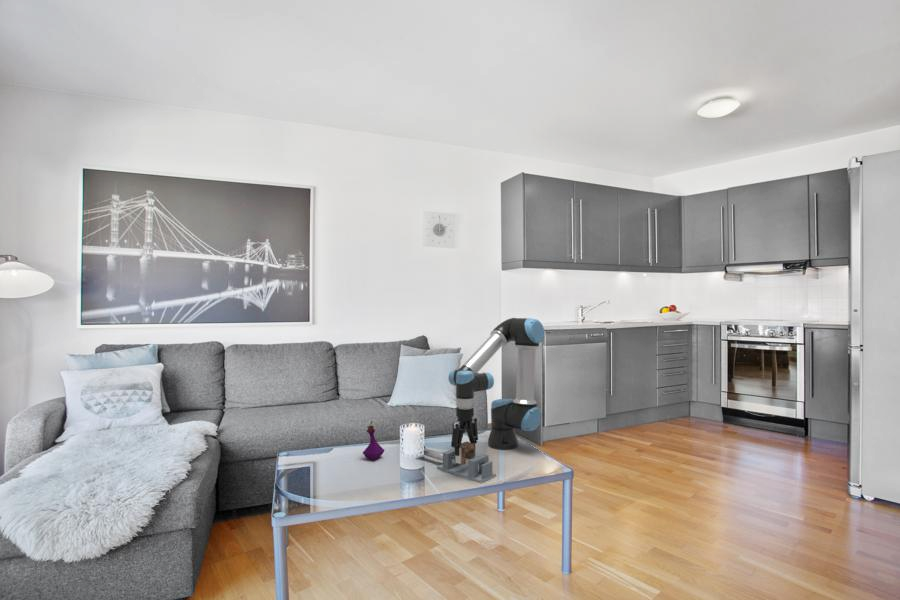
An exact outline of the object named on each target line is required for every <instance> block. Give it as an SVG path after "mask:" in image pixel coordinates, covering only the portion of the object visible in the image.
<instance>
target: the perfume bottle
mask: <svg viewBox="0 0 900 600" xmlns="http://www.w3.org/2000/svg"><path fill="white" fill-rule="evenodd" d="M373 423H374V424H376V426H378V423H379V422H378V420H377V419H372V420H371V421H370V425H368V426H367V429H366V433H368V435H369V438H370V442H369V444H368V446H366V448H365V449H364V450H363V452H362V455H363V456H364V457H365V458H366V459H367V460H370V461H376V460H378V459H380V458H381V457H382V456H383V453H384V452H385V449H384V448H383V447H382V446H381V445H380V444H379V443H378V441H377V440H376V437H375V432H376V429H375V428H374V427H375V426H374V425H372V424H373Z"/></svg>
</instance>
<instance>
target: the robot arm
mask: <svg viewBox="0 0 900 600" xmlns="http://www.w3.org/2000/svg"><path fill="white" fill-rule="evenodd" d="M489 335H490V336H488V338H487V339H486V340H485V341H484V342H483V343H482V344H481V345H480V346H479V347H478V348H477V349H476V351H474V352H473V354H472V355H470V356H469V358H468V359H467V360H466V361H465V362H464V363H463V364H462V365H461V366H460V367H459V368H457V369H453V370H451V371H450V372H449V373H448V379H447V380H448V382H449V384H450V385H452V386H454V387H455V388H456V389H455V390H456V391H455V393H456V397H455V398H456V400H455V401H456V406H455V407H456V409H455V416H456V417H457V421H456V422H453V423H452V425H451V426H452V434H451V444H450V446H451V448H453V449H454V448H455V462H456V463H459V464H461V448H460V446H461V443H463V442H462V441H463V437H464V433H465V432H466V433H467V437H468V440H469V441H468V442H470V443H474V444H475V445H476V444H477V443H478V440H479V434H478V427H477V426H478V425H477V424H478V423H477V422H478V418H475V417H474V415H475V414H474V413H475V412H474V405H475V398H474V396H475V392H476V393H477V392H482V391H487V390H491V389H492V388H493V387H494V385H495V379H494V376H493V375H492V373H490V372H482V373H479V371H480V370H482V368H483V367H484V366H485V365H486V364H487V363H488V362H489V361H490V359H491V358H492V357H493V356H494V355H495V354H496V353H497V352H498V351H499V350H500V348H501V347H504V346H506V345H507V344H508V343H510V342H514V347H516V349H517V364H516V365H517V366H516V392H515V398H499V399H494V400H493V401H491V404H490V406H491V407H490V419H491V420H490V422H491V425H490V427H491V428H490V433H489V437H488V439H487V445H488V446H489V447H490V448H493V449H496V450H497V449H498V450H512V449H515V448H517V447H519V441H518V438H517V433H516V430H515V429H518V430H522V431H525V432H526V431H527V432H533V431H536V429H538V428H539V425H540V424H541V422H542V417H543V416H542V411H541V409H540V408H539V407H537V406H538V403H537V402H538V401H536V400H535V380H536V379H535V378H536V377H535V376H536V375H535V374H536V373H535V371H536V353H537V352H536V350H537V349H538V348H539V346H540V343H542V342H543V340H544V338H545V328H544V325H543V323H542V322H541V321H540V320H539V319H537V318H532V317H531V318H530V317H529V318H526V317H524V318H523V317H522V318H521V317H520V318H519V317H518V318H517V317H510V318H508V319H506V320H504V321H502V322H501V323H499V324H498V325H497V326H496V327H495V328H493V329H492V331H490V334H489Z"/></svg>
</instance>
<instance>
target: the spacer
mask: <svg viewBox="0 0 900 600" xmlns="http://www.w3.org/2000/svg"><path fill="white" fill-rule="evenodd" d="M460 448H461V464H463V465H464V464H466V460H470V459H472V458H475V457H476V443H475V444H474V443H471V442H470V441H464V442H461V446H460Z"/></svg>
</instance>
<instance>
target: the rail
mask: <svg viewBox="0 0 900 600" xmlns="http://www.w3.org/2000/svg"><path fill="white" fill-rule="evenodd" d="M442 453H443V461H442V464H439V465H437V466H436V469H438V470H439V471H444V472H447V473H449V474H453V475H456V476H459V477H462V478H464V477H465V478H464V479H467V478H468V480H470V479H471V480H470V481H473V480H475V481H474V482H476V481H478V482H477V483H479V482H481V483H480V484H483V483H485V482H487V481H489V480H491V479H490V478H492V477H494V478H495V476H496V477H497V473H495V472H493V461H492V460H491V461H490V460H489V455H487V454H485V453H483V454H479V455H477V456H475V458H472V459H470V460H469V459H467V460H468V461H467V462H468V463H467V464H466V463H465V464H464V465H463V464H459V463H458V464H457V465H455V464H452V456H453V457H455V448H454V447H453V448H450V449H449V450H446V451H442ZM488 479H489V480H488ZM492 479H493V478H492ZM486 480H487V481H486ZM484 481H485V482H484ZM482 482H483V483H482Z"/></svg>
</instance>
